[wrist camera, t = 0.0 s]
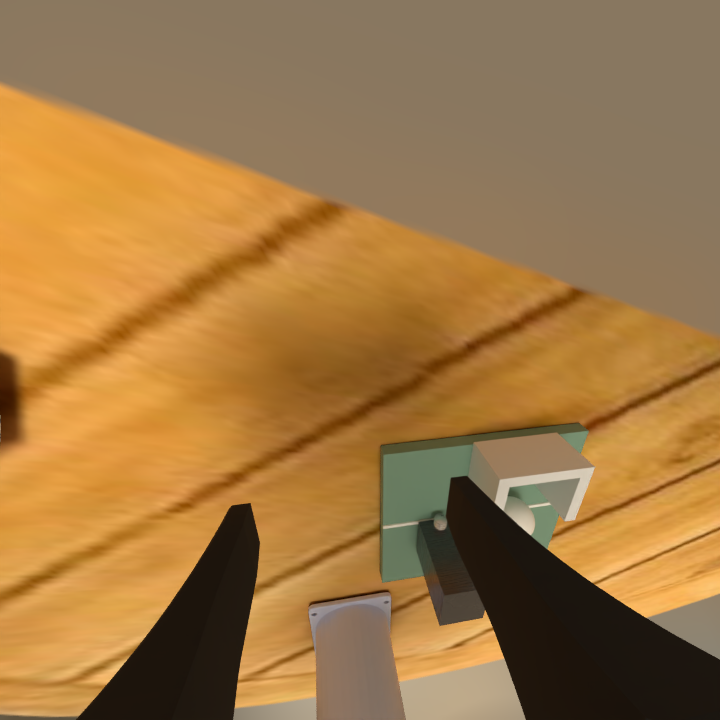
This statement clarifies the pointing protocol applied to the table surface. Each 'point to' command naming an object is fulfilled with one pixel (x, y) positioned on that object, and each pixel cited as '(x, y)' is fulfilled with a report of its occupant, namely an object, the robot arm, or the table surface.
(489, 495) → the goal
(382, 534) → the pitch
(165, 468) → the table surface
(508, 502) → the ball
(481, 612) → the knob lever
